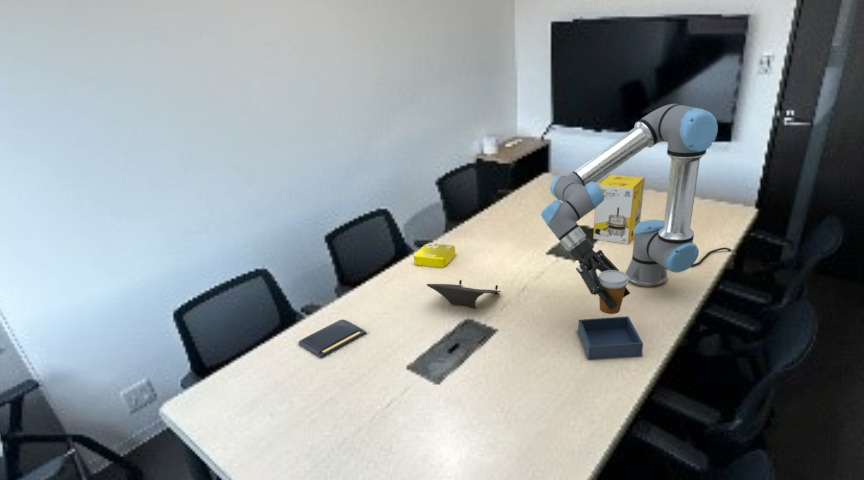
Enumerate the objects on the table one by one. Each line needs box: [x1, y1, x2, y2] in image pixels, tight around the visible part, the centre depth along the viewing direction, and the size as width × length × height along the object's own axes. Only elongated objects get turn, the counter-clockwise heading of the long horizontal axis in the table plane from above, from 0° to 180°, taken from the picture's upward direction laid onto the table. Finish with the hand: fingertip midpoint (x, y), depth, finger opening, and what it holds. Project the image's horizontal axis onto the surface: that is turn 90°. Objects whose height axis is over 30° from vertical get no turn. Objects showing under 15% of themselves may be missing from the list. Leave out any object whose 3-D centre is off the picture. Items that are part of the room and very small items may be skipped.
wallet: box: [298, 319, 367, 359], centre depth 190 cm, size 20×2×15 cm
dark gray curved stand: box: [426, 279, 502, 309], centre depth 204 cm, size 23×23×9 cm
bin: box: [577, 316, 644, 361], centre depth 174 cm, size 17×17×5 cm
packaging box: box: [592, 174, 646, 245], centre depth 242 cm, size 16×16×25 cm
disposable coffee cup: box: [598, 270, 629, 315], centre depth 171 cm, size 10×10×12 cm
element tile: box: [413, 243, 456, 268], centre depth 240 cm, size 15×15×5 cm
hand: (620, 301), depth 170 cm, fingers closed on disposable coffee cup, 9 cm apart
